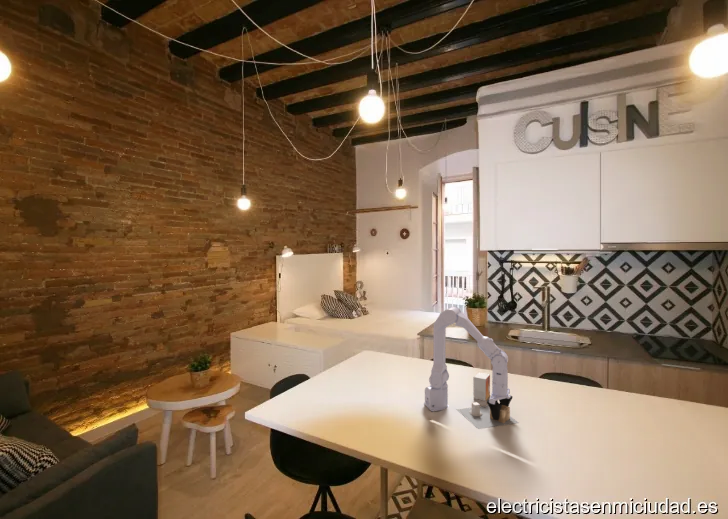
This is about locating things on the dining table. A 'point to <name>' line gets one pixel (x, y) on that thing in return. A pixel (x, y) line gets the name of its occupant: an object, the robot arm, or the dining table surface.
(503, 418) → the wooden cubby shelf
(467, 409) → the panel
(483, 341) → the robot arm
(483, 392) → the small box
